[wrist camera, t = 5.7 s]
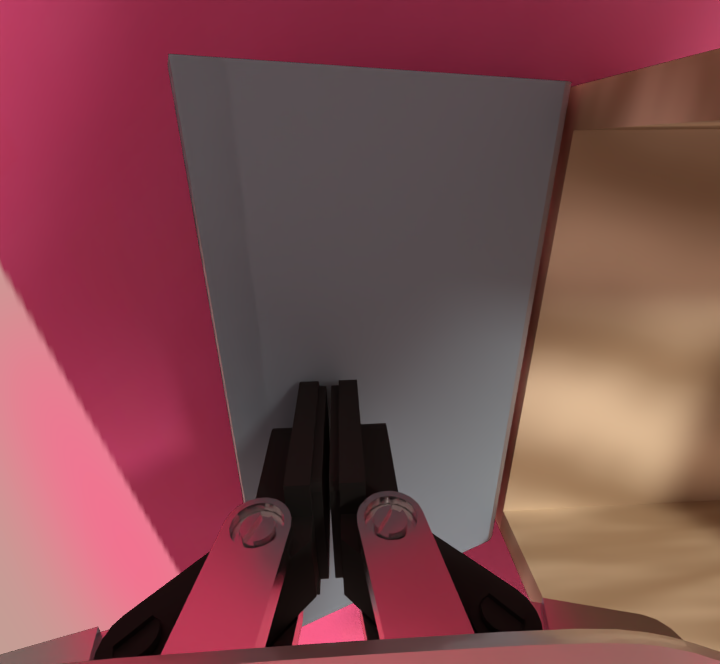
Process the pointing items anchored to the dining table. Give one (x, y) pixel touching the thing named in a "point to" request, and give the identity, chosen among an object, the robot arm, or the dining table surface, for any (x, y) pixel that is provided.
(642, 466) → the crate
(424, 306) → the panel
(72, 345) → the dining table surface
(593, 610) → the robot arm
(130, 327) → the dining table surface
